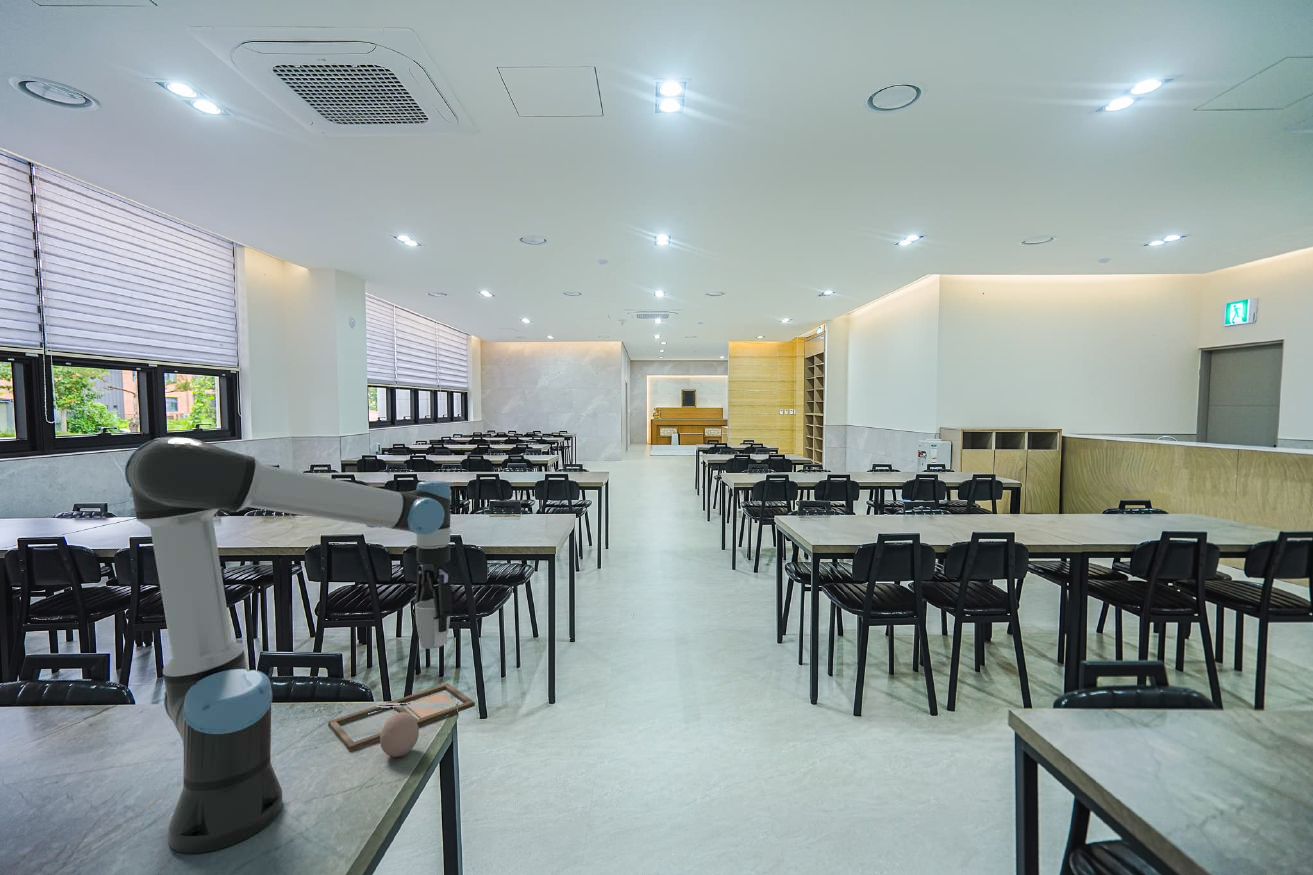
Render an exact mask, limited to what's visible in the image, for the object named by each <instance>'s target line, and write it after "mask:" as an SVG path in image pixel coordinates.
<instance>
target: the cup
mask: <svg viewBox="0 0 1313 875" xmlns="http://www.w3.org/2000/svg"><path fill="white" fill-rule="evenodd" d="M414 608H415V610H414V611H415V613H414V614H415V624H416V630H417V635H418V639H419V642H420V645H421V648H423V649H426V650H428V649H429V650H431V649H438V648H441V647H443V646H444V645H440V646H437V647H435V646H434V622H435V620H434V617H436V610H435V604H434V598H432V599H430V600H428V601H421V602H418V603H417V604H414ZM450 621H451V616H448V617H447V635H448V633H449V628H450Z"/></svg>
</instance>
